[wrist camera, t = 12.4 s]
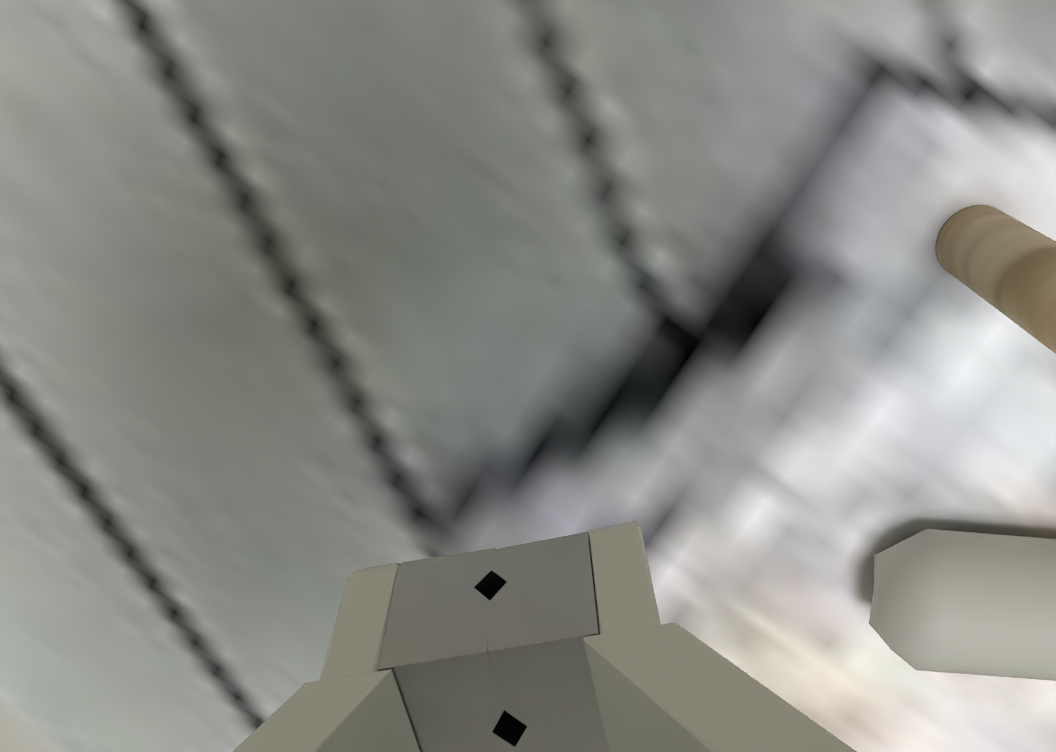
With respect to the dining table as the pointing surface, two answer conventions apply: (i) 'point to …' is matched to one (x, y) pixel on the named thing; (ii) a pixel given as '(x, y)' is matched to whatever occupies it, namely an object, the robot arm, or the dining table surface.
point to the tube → (969, 603)
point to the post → (1004, 266)
